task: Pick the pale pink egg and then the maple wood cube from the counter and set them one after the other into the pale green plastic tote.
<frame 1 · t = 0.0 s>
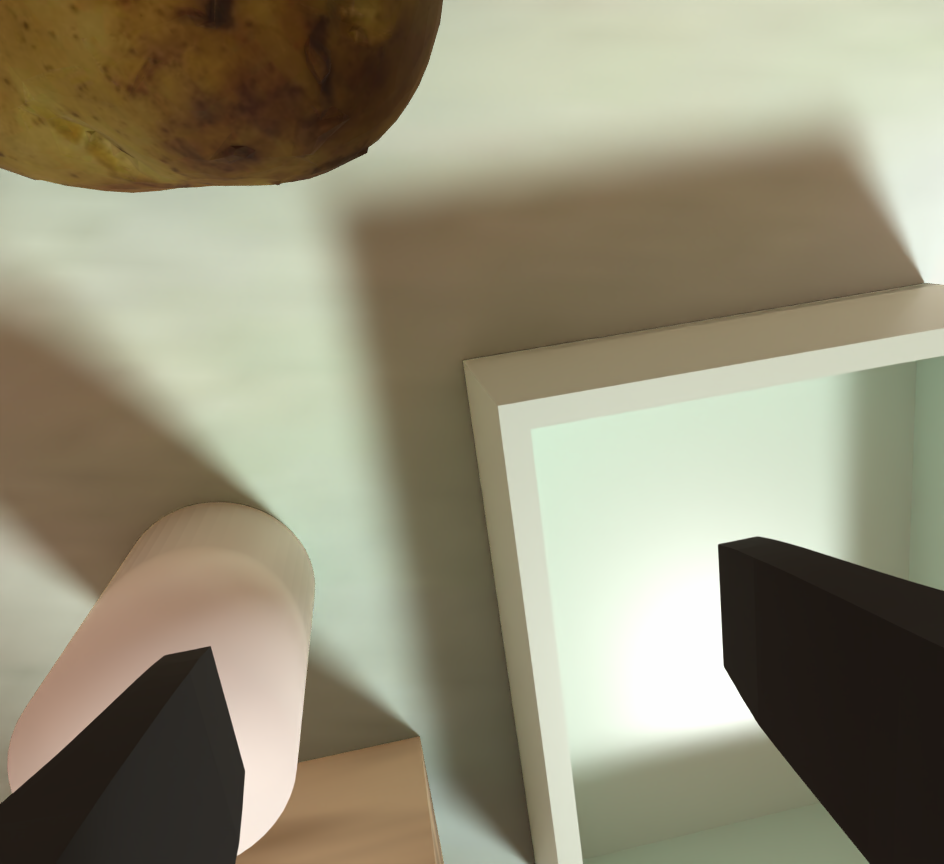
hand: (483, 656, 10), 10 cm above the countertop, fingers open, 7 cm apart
potato: (120, 13, 17), on the countertop
tote: (715, 601, 23), on the countertop
pale pink egg: (221, 588, 20), on the countertop
maple cube: (352, 819, 23), on the countertop
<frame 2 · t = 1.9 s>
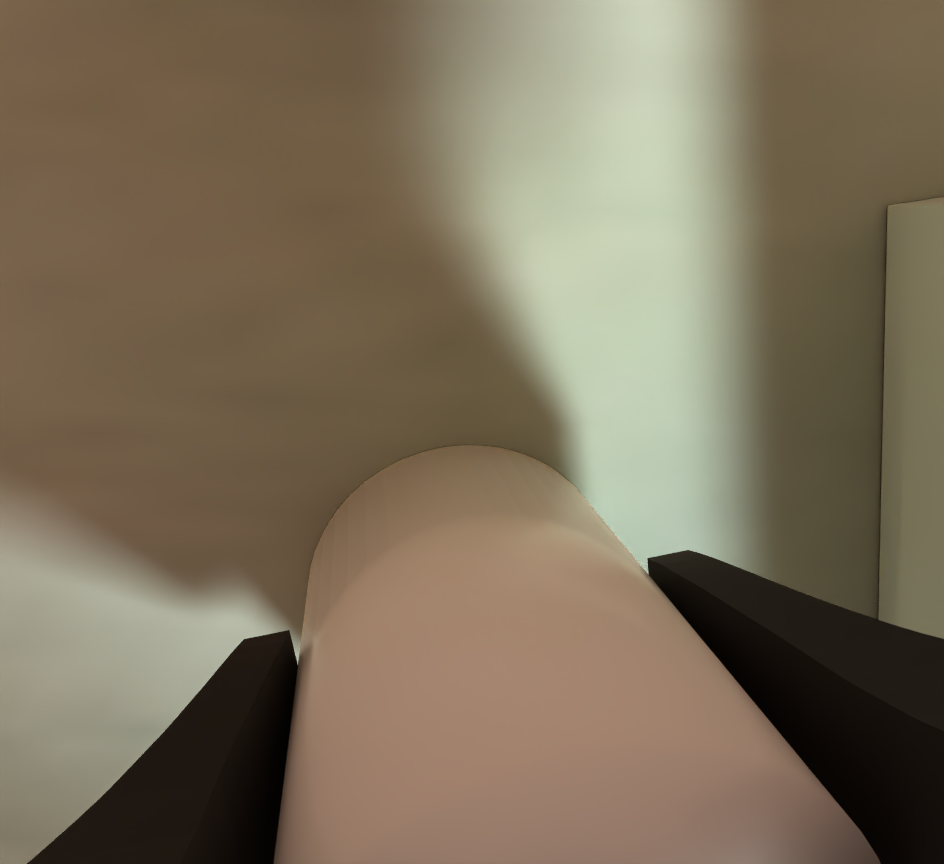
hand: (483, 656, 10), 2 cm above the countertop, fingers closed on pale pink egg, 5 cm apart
pale pink egg: (463, 591, 12), on the countertop, touching gripper
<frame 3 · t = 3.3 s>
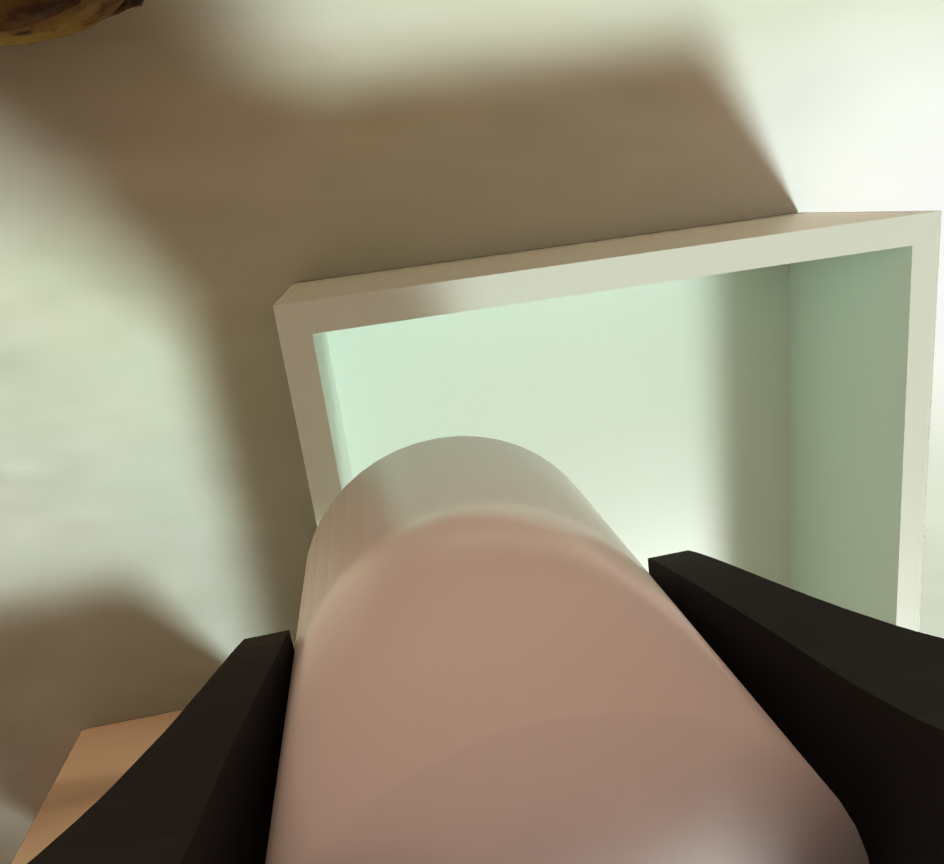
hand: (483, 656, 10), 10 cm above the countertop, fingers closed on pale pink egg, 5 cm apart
tote: (583, 553, 22), on the countertop
pale pink egg: (458, 580, 13), point 8 cm above the countertop, touching gripper
maple cube: (196, 782, 22), on the countertop
when the fingers open (4 cm above the countertop, at t = 5.1 s): pale pink egg drops 2 cm, resting on tote.
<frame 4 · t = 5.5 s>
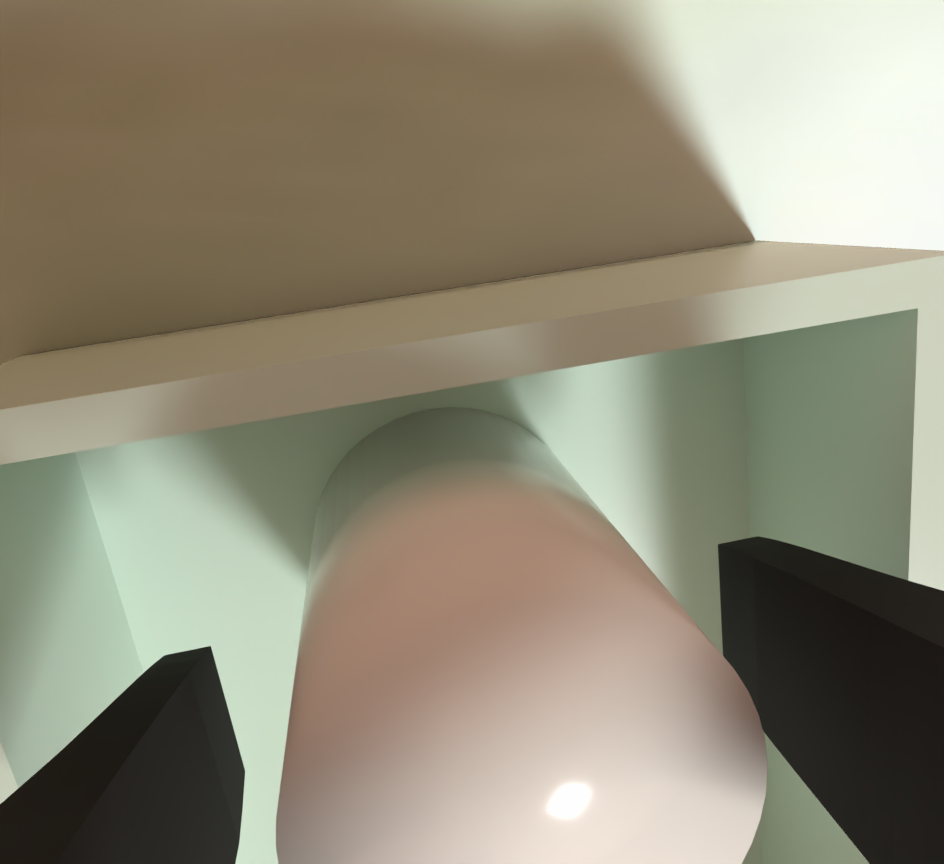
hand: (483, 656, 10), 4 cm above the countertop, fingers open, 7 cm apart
tote: (473, 703, 16), on the countertop
pale pink egg: (448, 536, 14), point 1 cm above the countertop, touching tote
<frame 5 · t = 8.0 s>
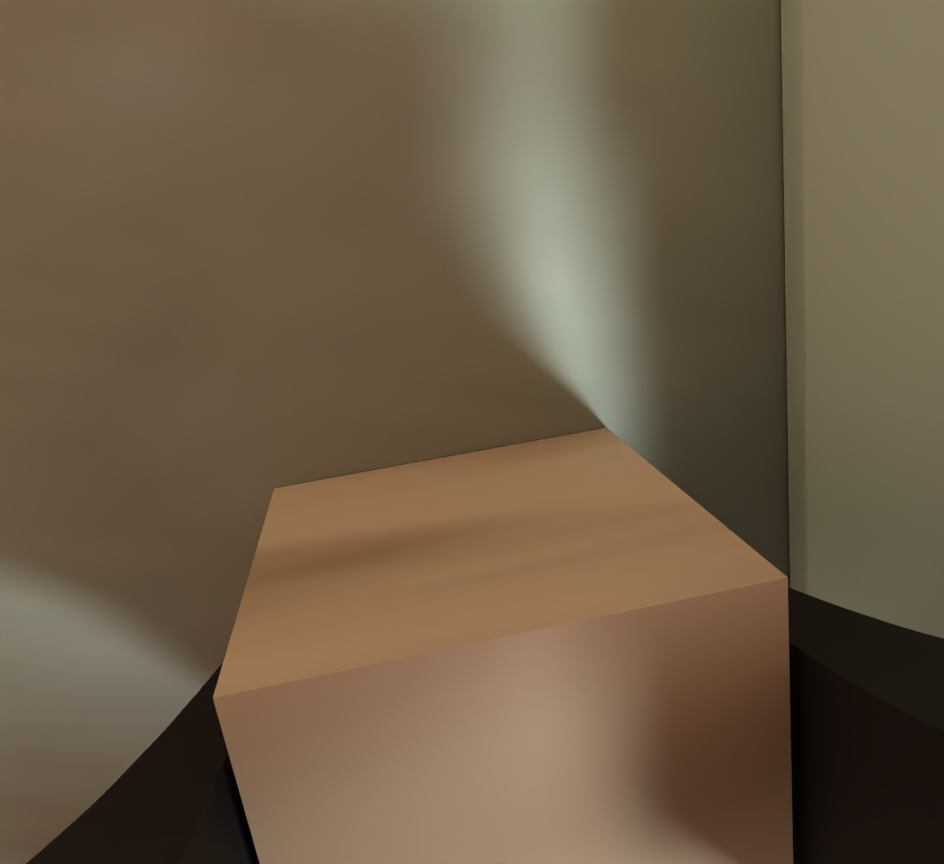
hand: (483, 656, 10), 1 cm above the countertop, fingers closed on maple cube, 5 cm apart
maple cube: (467, 605, 12), on the countertop, touching gripper
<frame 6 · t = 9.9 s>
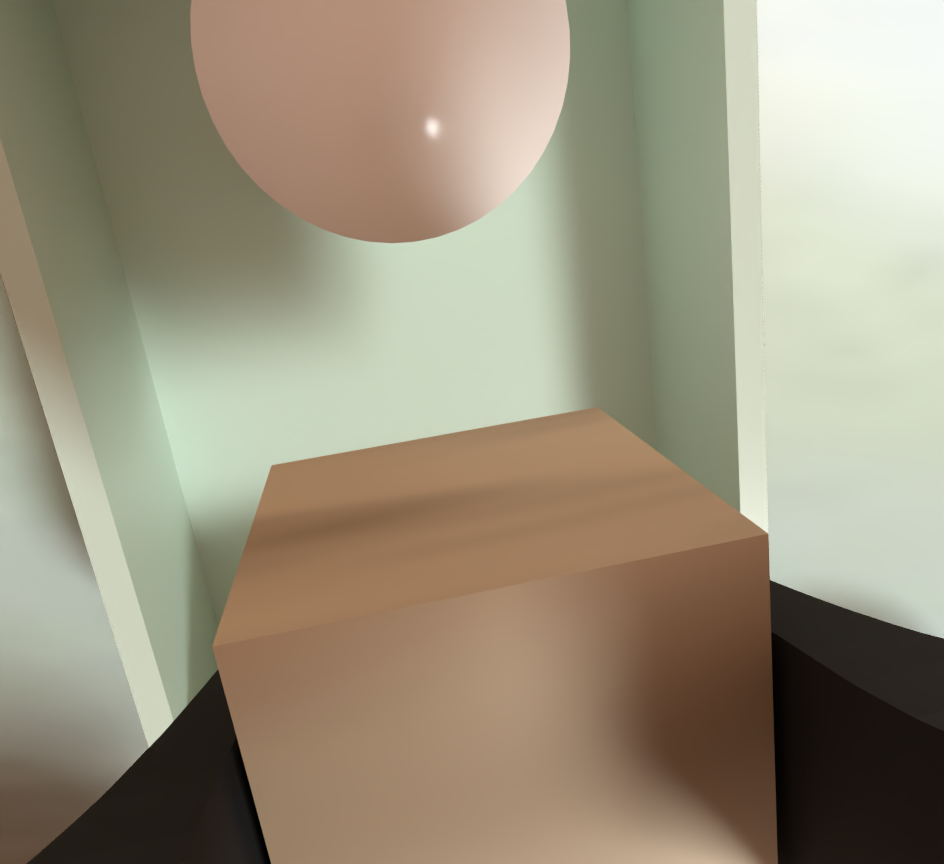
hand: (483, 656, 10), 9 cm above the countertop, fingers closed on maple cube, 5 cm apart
tote: (401, 300, 18), on the countertop
pale pink egg: (373, 117, 17), resting on tote
maple cube: (461, 583, 12), point 8 cm above the countertop, touching gripper
when the fingers open (4 cm above the countertop, at t = 11.4 s): maple cube drops 2 cm, resting on tote.
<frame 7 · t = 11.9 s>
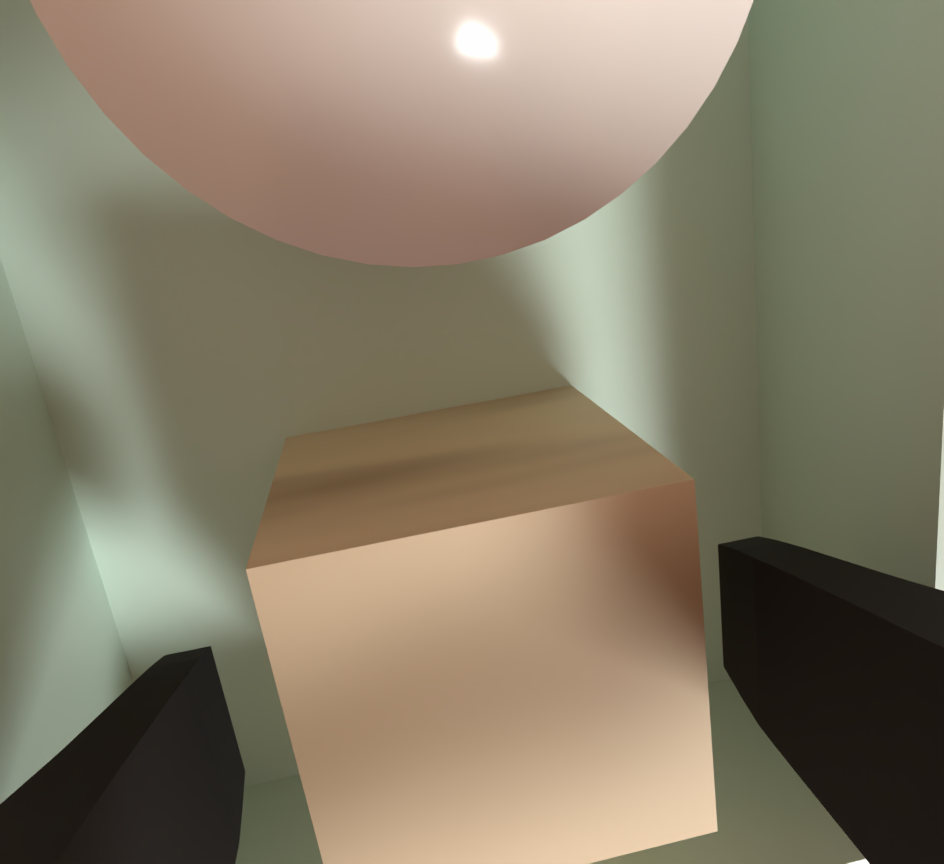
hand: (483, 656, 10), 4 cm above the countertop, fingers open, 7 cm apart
tote: (415, 332, 13), on the countertop
pale pink egg: (375, 69, 11), resting on tote
maple cube: (454, 542, 14), resting on tote
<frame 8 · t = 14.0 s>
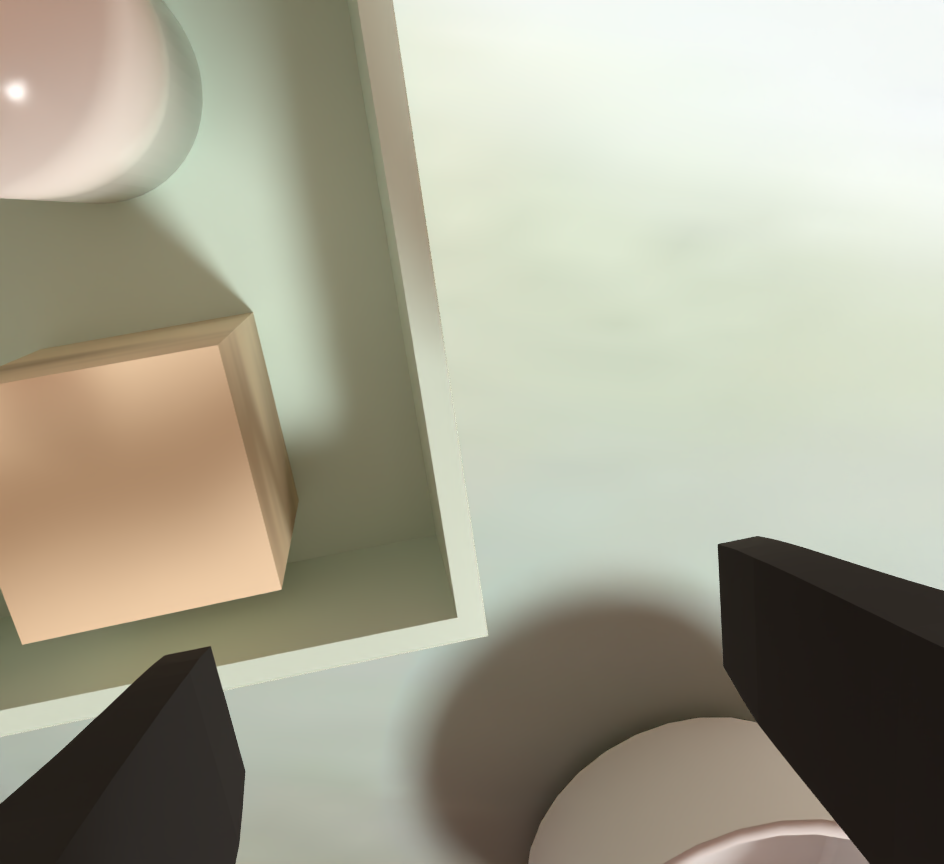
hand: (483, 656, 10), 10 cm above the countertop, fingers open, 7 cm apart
saucepan: (772, 855, 27), on the countertop
tote: (138, 272, 18), on the countertop
pale pink egg: (83, 84, 16), resting on tote
maple cube: (176, 428, 19), resting on tote
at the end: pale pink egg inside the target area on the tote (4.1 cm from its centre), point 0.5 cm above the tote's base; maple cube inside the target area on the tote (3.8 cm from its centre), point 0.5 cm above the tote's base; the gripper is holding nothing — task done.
